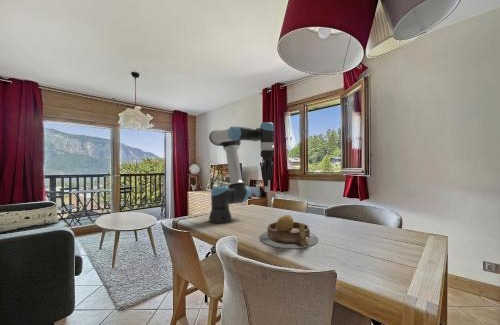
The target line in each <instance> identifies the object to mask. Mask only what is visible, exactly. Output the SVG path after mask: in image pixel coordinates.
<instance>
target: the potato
mask: <svg viewBox="0 0 500 325" xmlns="http://www.w3.org/2000/svg"><path fill="white" fill-rule="evenodd" d="M276 222H277V223H276V229H277V231H280V232H290V231H291V230H292V229H293V224H294V222H295V221H294V219H293V217H292V216H291V215H288V214H285V215H282V216H281V217H279V218H278V219H277V220H276Z"/></svg>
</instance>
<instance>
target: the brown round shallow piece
mask: <svg viewBox="0 0 500 325" xmlns="http://www.w3.org/2000/svg"><path fill="white" fill-rule="evenodd" d="M293 222H294V224H293V229H292V230H291V231H290V232H280V231H277V229H276V223H277V221H276V222H275V221H274V222H272V223H268V225H267V231H268V237H269V238H271V239H273V240H276V241H281V242H298V243H299V244H301V245H306V244H307V240H305V237H308V238H309V237H310V233H311V232H310V226H309V225H308V224H306V223H304V222H298V221H293Z"/></svg>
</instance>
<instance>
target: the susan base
mask: <svg viewBox="0 0 500 325" xmlns="http://www.w3.org/2000/svg"><path fill="white" fill-rule="evenodd" d="M259 240H260V241H261V242H262V243H263V244H265V245H268V246H271V247H275V248H278V249H279V248H280V249H292V250H293V249H295V250H296V249H304V248H308V247H312V246H314V245H316V244H317V243H318V242H319V237H318V236H317V235H316V234H314V233H311V232H310V237H309V238H308V237H305V240H307V244H306V245H301V244H299V243H298V242H281V241H276V240H273V239H271V238H269V237H268V230H267V231H265V232H263V233H261V234H260V237H259Z"/></svg>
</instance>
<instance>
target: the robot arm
mask: <svg viewBox="0 0 500 325" xmlns="http://www.w3.org/2000/svg"><path fill="white" fill-rule="evenodd" d="M259 126H260V127H244V126H230V127H229V128H228V129H223V130H222V129H215V130H213V131H211V132H210V133H209V135H208V138H209V142H210V143H211V144H212V145H213V146H217V147H223V148H222V149H223V150H224V151H225V153H226V162H227V168H228V175H229V183H228V184H222V185H216V186H214V187H212V188H211V191H210V192H211V193H210V197H211V200H210V202H211V204H210V205H211V211H210V214H209V217H208V222H209V223H211V224H226V223H229V222H232V219H233V218H232V214H231V211H230V205H233V204H242V203H246V202H247V201H248V199H249V197H250V188H249V187H248V186H247V185H246V184H245V182H244V181H243V178H242V171H241V165H240V159H239V152H238V149H239V148H240V146H241V144H242V142H241V141H250V142H251V141H252V142H260V158H262V159H261V162H259V166H260V172H261V179H262V181H264V192H265V193H270V192H271V181H272V180H273V175H274V174H273V173H274V167H275V166H274V165H275V162H274V161H273V158H274V157H275V150H274V149H275V142H274V141H275V140H274V139H275V126H274V123H273V122H270V121H269V122H261V123H260V125H259Z"/></svg>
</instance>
